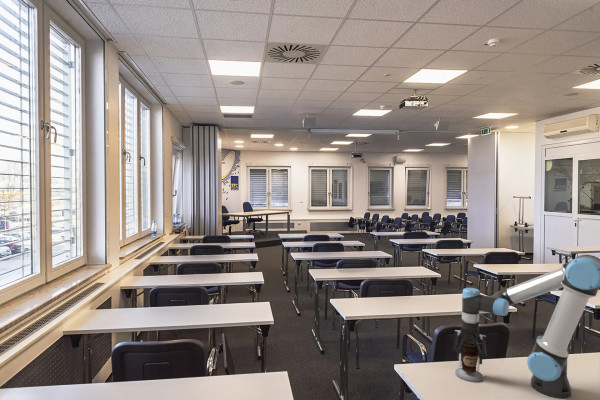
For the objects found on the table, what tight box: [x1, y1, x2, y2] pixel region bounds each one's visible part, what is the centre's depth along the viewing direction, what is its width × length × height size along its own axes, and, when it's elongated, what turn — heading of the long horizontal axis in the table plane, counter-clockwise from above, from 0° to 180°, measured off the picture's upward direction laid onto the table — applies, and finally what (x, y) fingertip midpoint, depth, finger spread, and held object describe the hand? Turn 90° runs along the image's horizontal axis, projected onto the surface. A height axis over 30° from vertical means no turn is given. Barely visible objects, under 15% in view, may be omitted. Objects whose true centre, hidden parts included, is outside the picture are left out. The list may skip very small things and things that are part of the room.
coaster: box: [454, 367, 484, 383], centre depth 176 cm, size 12×12×1 cm
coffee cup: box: [460, 340, 479, 373], centre depth 176 cm, size 9×8×13 cm
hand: (469, 368), depth 176 cm, fingers closed on coffee cup, 7 cm apart
